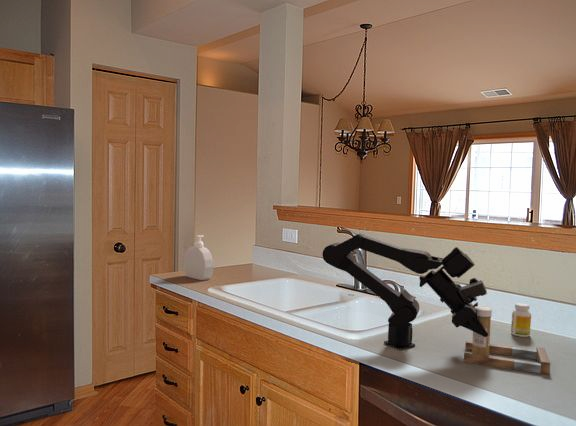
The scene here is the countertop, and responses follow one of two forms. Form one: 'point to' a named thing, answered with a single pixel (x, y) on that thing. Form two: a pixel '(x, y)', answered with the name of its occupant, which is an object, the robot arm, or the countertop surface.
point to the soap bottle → (198, 261)
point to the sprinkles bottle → (479, 341)
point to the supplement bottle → (521, 320)
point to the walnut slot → (539, 354)
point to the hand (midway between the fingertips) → (487, 333)
